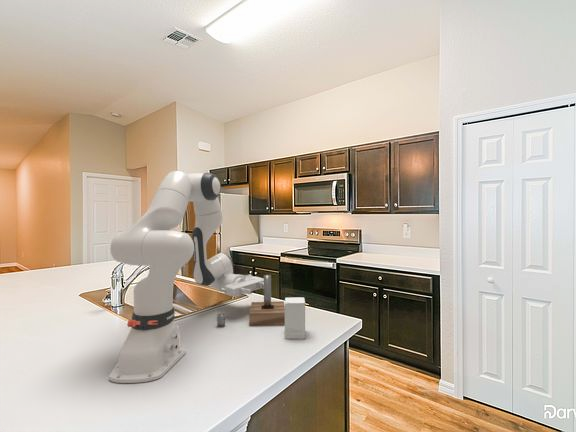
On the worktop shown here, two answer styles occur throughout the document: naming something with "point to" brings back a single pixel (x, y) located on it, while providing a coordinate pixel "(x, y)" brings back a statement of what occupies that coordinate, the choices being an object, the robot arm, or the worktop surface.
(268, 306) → the long pin
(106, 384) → the worktop surface
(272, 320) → the collar block
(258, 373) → the worktop surface
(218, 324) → the short pin
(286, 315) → the supplement box
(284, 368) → the worktop surface
